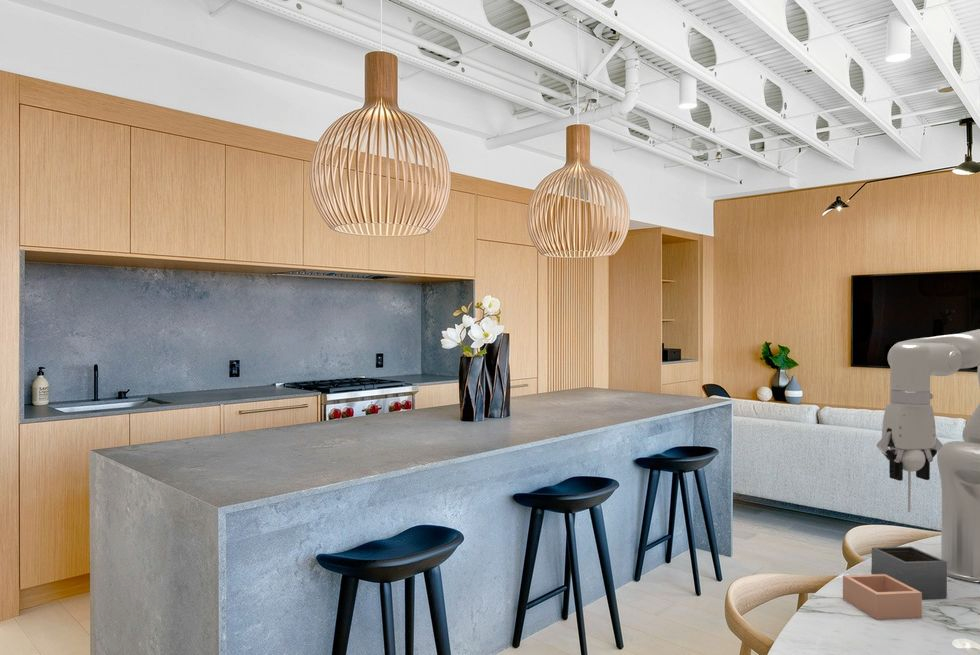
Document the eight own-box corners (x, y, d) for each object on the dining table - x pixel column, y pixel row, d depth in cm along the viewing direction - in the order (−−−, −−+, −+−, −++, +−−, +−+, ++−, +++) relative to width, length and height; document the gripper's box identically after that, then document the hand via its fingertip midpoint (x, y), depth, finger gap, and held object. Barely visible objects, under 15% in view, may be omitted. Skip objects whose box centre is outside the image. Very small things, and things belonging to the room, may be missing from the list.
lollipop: (920, 517, 139) (920, 448, 139) (889, 511, 143) (890, 444, 143) (928, 512, 143) (929, 445, 143) (898, 506, 147) (899, 441, 147)
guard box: (910, 580, 148) (911, 546, 148) (946, 598, 138) (946, 561, 139) (871, 582, 147) (871, 547, 147) (904, 600, 137) (905, 563, 137)
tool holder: (885, 597, 139) (885, 574, 139) (921, 617, 129) (921, 592, 129) (842, 598, 138) (843, 575, 138) (876, 619, 128) (876, 594, 128)
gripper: (931, 396, 148) (930, 474, 148) (862, 397, 146) (862, 476, 146) (958, 400, 141) (958, 482, 140) (887, 400, 138) (886, 483, 138)
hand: (909, 478), depth 143 cm, fingers closed on lollipop, 5 cm apart
